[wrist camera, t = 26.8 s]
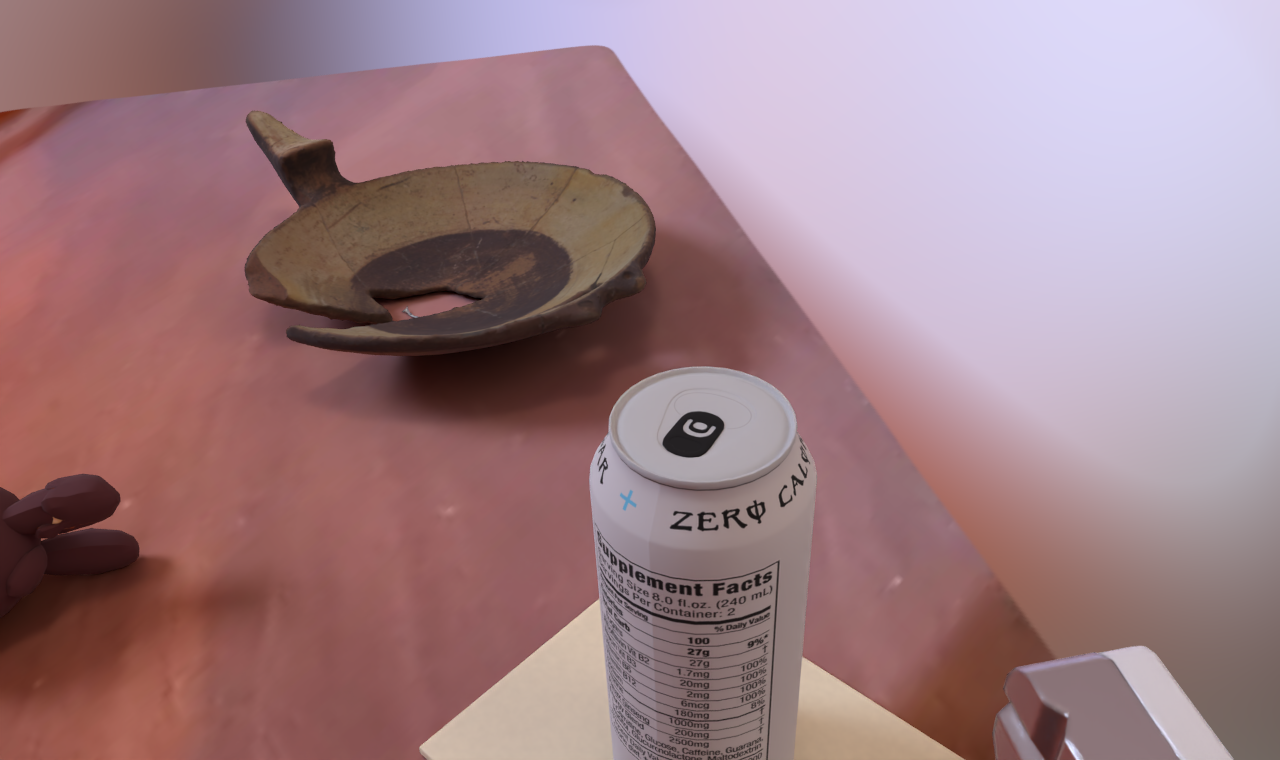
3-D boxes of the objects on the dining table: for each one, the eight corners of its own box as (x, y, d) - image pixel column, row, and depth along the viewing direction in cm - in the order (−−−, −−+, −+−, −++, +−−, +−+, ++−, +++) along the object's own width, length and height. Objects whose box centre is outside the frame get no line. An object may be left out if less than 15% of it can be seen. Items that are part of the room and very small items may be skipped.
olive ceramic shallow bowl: (337, 492, 48) (299, 355, 44) (210, 234, 70) (176, 124, 65) (741, 347, 57) (745, 219, 52) (517, 156, 78) (506, 54, 74)
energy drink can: (818, 734, 36) (854, 387, 28) (748, 884, 32) (764, 531, 23) (665, 670, 39) (653, 334, 30) (581, 801, 35) (539, 455, 26)
